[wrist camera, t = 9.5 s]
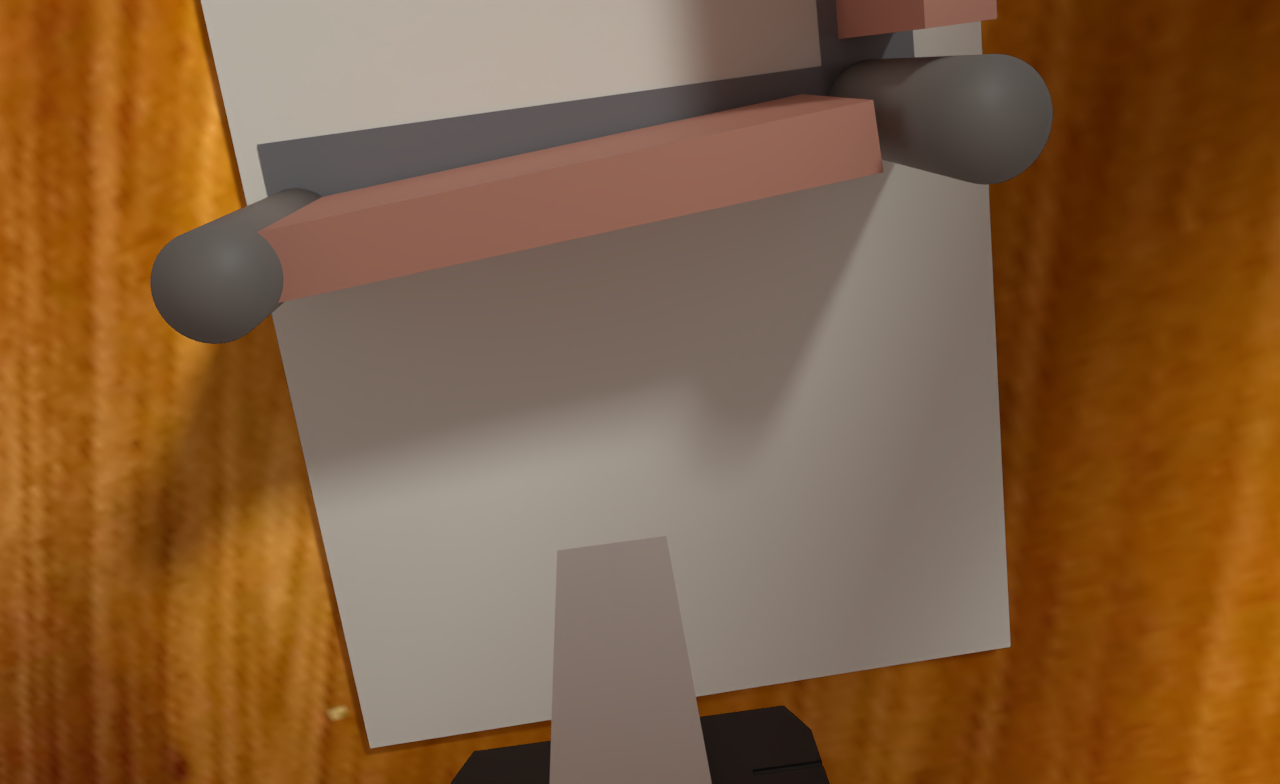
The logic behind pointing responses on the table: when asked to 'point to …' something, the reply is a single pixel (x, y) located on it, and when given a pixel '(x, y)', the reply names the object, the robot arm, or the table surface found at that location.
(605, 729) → the robot arm
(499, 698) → the card
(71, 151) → the table surface
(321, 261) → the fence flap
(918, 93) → the fence fixed
